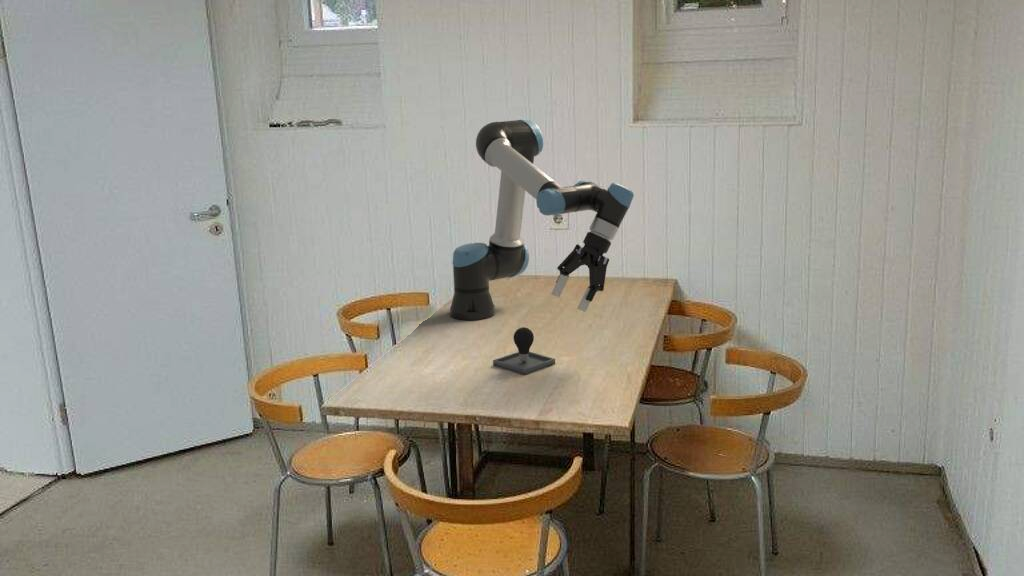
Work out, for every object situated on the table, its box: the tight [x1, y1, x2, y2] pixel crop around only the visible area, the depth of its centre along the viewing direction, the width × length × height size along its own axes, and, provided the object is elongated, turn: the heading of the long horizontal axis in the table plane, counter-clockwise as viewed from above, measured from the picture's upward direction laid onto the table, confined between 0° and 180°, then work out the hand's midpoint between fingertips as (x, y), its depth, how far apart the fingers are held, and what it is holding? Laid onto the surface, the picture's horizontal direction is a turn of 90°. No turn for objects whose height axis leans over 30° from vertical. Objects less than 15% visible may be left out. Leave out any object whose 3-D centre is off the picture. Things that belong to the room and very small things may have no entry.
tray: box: [492, 351, 556, 376], centre depth 252 cm, size 12×12×2 cm
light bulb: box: [513, 327, 535, 363], centre depth 251 cm, size 6×6×10 cm
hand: (567, 303), depth 261 cm, fingers open, 13 cm apart
